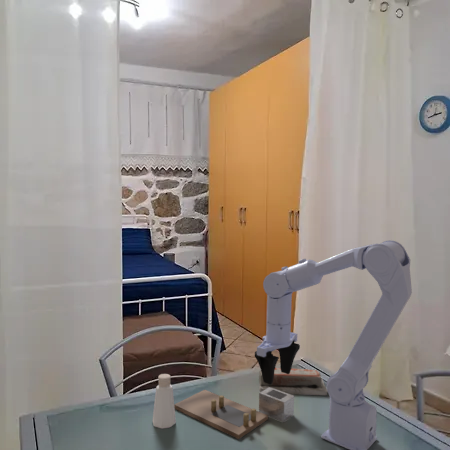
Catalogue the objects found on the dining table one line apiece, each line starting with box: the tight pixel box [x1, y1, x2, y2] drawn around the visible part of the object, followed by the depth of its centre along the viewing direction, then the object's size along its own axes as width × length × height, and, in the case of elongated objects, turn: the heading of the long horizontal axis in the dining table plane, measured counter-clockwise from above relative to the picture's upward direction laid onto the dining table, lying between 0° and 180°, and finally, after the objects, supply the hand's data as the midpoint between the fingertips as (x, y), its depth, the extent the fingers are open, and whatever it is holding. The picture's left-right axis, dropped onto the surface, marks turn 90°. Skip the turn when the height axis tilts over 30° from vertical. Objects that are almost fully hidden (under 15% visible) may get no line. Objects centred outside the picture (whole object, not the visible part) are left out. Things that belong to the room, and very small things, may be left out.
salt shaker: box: [152, 373, 177, 429], centre depth 100 cm, size 5×5×11 cm
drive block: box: [258, 387, 295, 424], centre depth 105 cm, size 7×4×5 cm, turn 50°
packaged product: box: [258, 366, 328, 396], centre depth 121 cm, size 18×5×10 cm
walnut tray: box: [174, 389, 269, 440], centre depth 104 cm, size 20×11×4 cm, turn 50°
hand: (276, 377), depth 104 cm, fingers open, 7 cm apart
